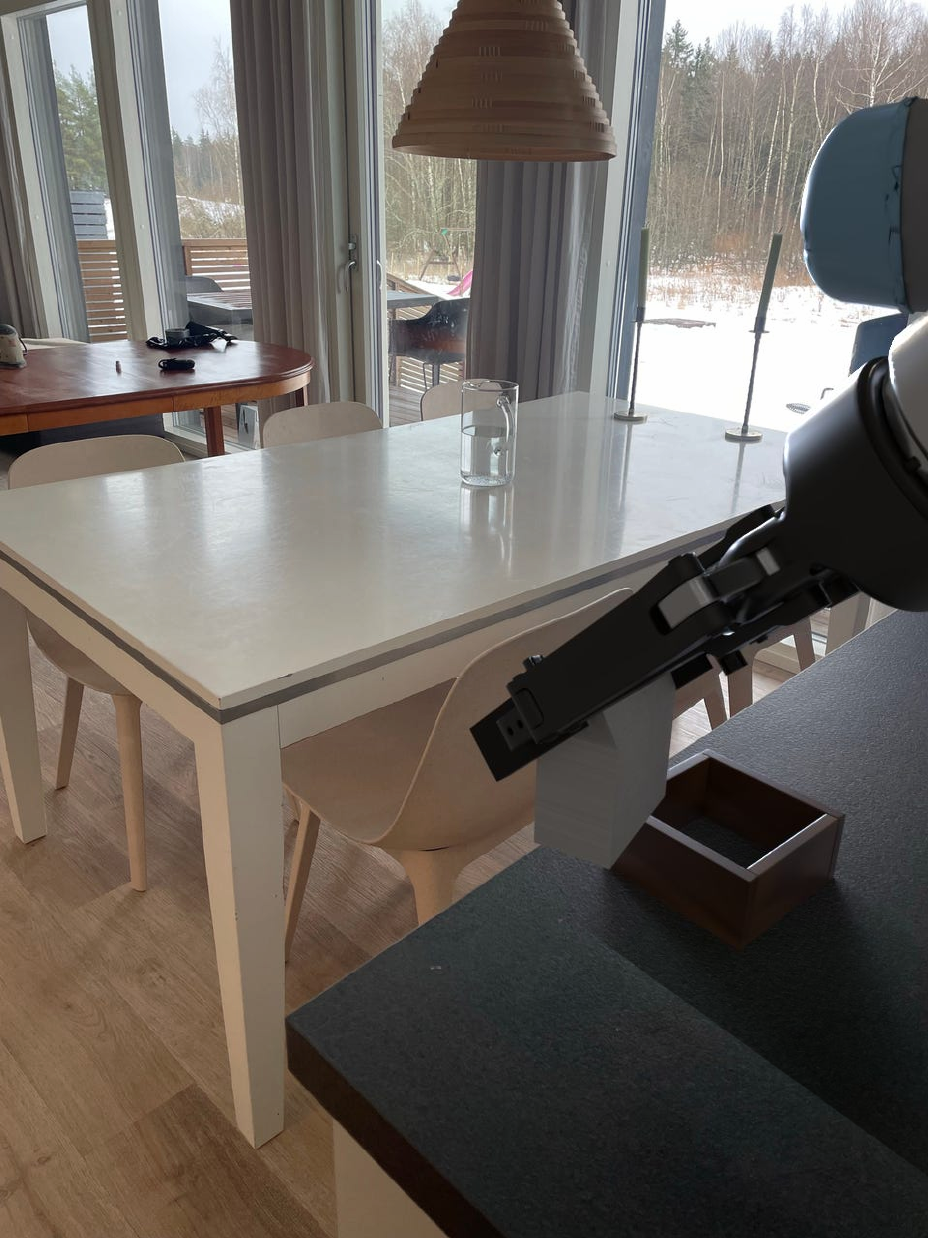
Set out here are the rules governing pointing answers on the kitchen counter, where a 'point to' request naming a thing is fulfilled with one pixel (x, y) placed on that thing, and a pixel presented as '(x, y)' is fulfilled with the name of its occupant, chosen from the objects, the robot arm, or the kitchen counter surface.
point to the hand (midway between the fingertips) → (553, 723)
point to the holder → (711, 882)
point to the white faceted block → (606, 777)
